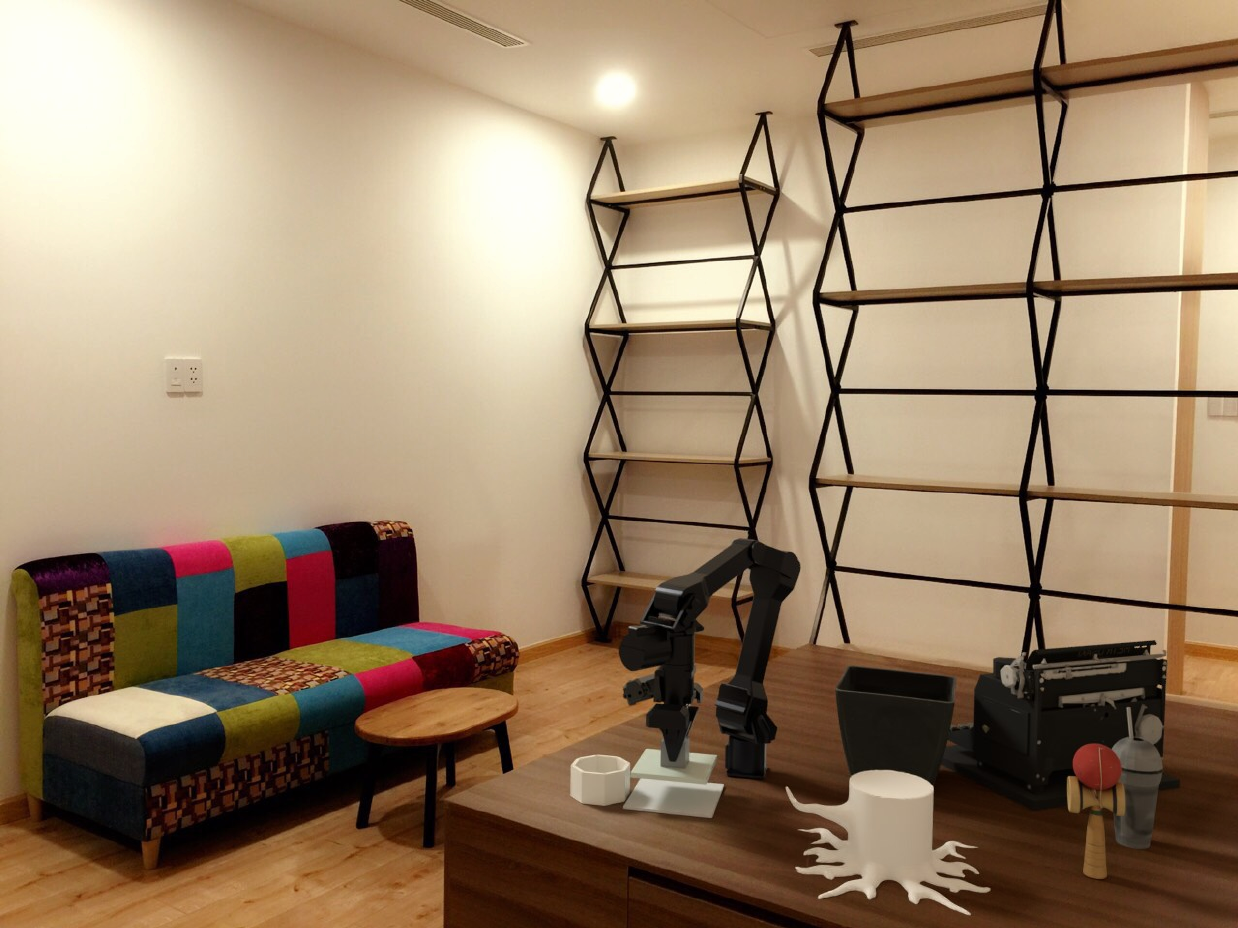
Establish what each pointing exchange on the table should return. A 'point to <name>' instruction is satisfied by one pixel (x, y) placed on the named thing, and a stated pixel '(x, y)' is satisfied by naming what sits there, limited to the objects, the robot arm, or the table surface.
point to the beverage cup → (1137, 789)
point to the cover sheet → (674, 774)
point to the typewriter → (1057, 717)
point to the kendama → (1096, 799)
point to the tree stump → (886, 839)
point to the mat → (675, 797)
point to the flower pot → (894, 720)
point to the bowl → (600, 780)
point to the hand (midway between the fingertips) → (675, 756)
